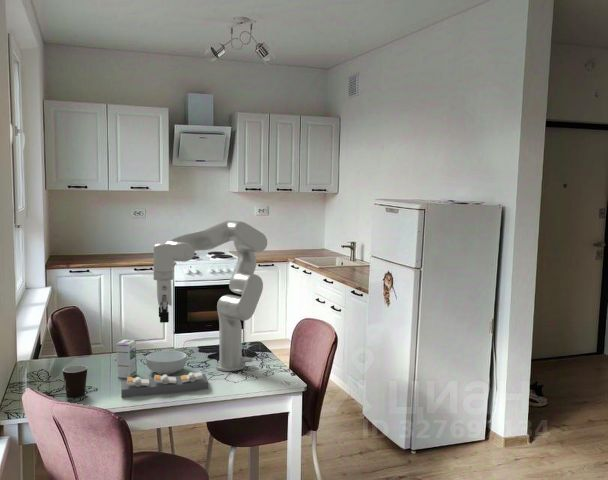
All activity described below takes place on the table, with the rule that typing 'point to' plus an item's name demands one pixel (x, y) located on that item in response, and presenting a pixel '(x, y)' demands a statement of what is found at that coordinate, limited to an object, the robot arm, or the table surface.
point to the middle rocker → (164, 379)
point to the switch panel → (163, 387)
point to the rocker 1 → (137, 381)
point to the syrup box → (126, 358)
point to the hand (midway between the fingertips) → (163, 319)
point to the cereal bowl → (166, 361)
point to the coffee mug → (75, 380)
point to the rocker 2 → (191, 377)
